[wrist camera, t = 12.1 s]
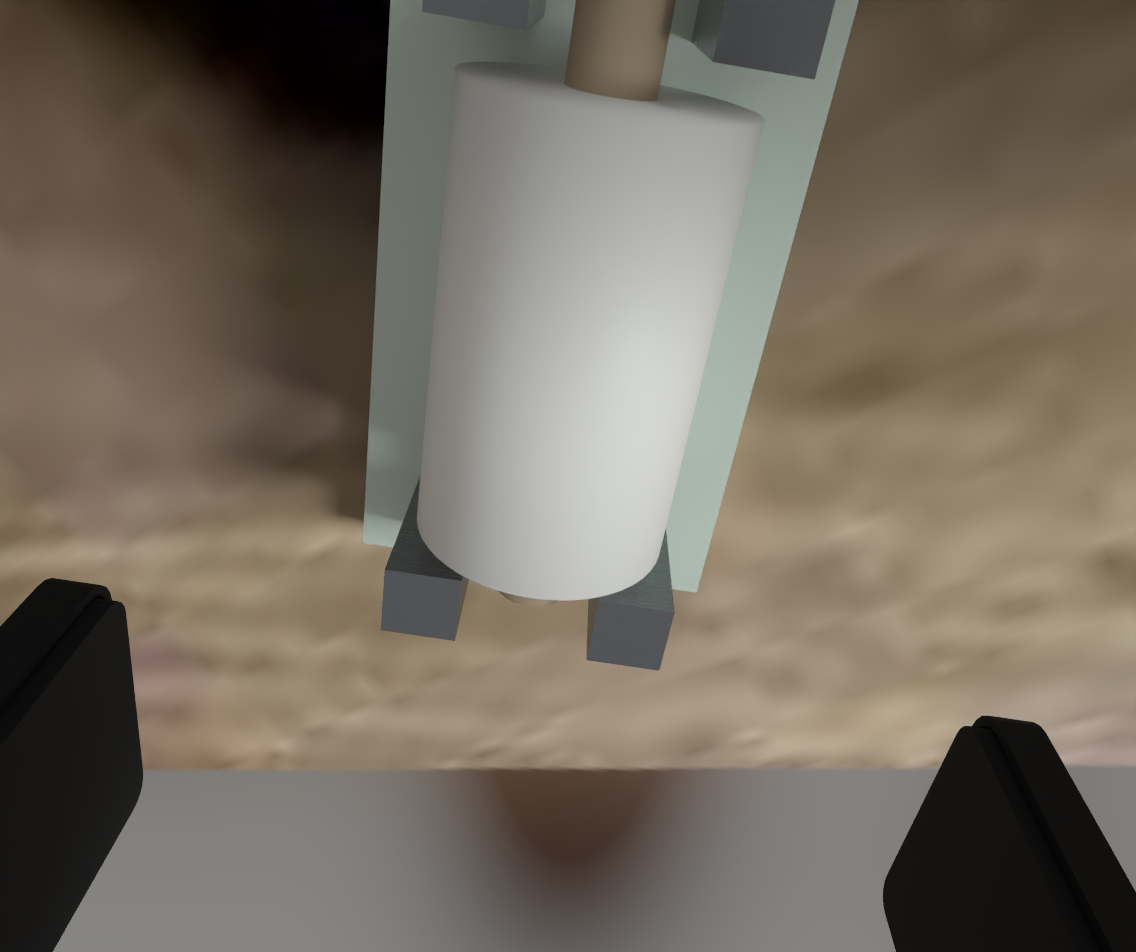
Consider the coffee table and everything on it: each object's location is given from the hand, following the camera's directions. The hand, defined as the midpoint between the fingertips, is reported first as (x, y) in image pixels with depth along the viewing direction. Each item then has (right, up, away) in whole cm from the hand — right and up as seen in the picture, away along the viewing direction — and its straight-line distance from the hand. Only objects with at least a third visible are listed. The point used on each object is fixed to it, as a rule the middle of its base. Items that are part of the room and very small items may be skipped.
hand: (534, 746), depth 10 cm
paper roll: (+1, +8, +15) cm, 17 cm away
